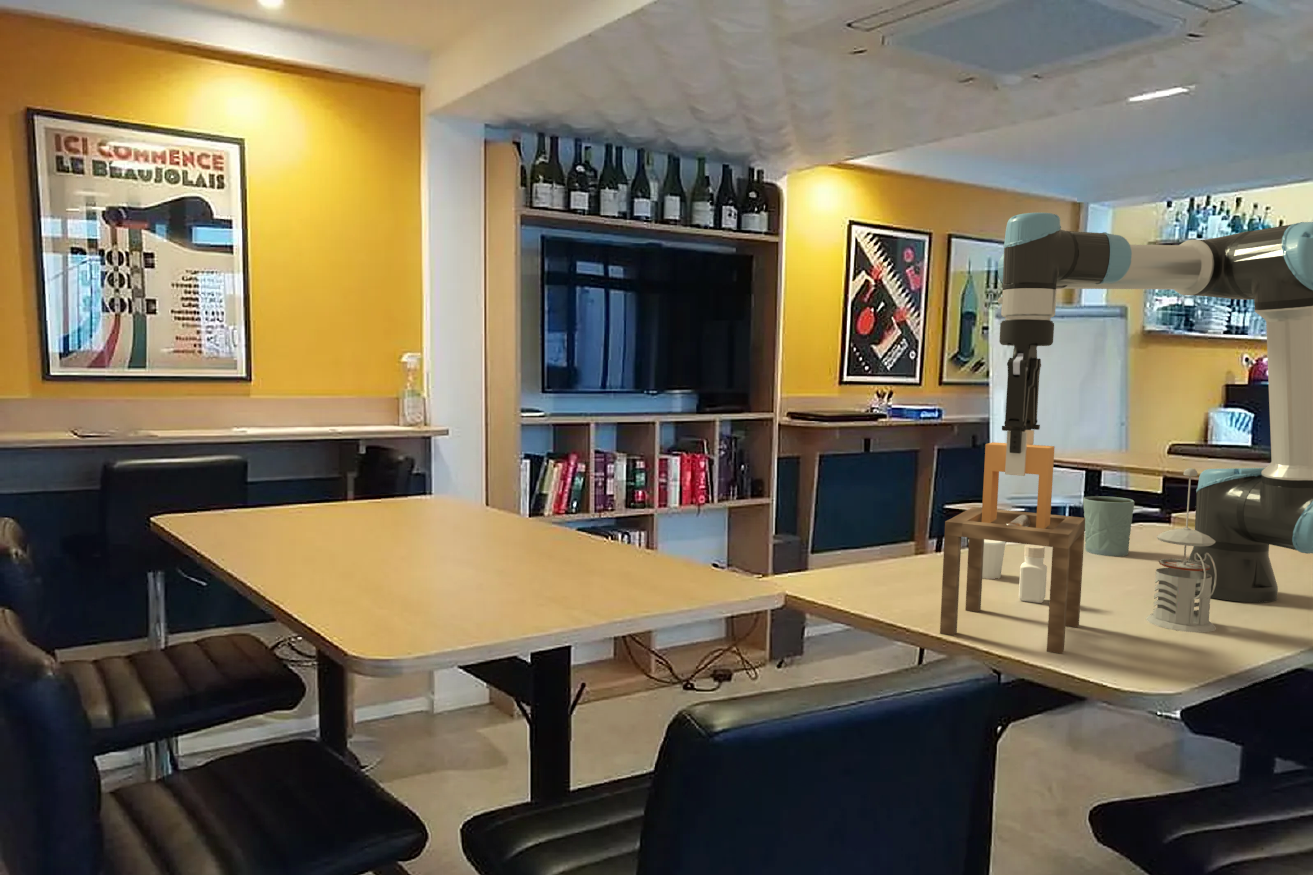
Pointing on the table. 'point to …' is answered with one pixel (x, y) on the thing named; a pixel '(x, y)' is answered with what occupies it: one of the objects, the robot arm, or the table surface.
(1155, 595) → the french press
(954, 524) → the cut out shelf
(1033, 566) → the white pill bottle
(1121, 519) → the green plant pot
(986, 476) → the orange arch block
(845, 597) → the table surface
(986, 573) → the white cup
